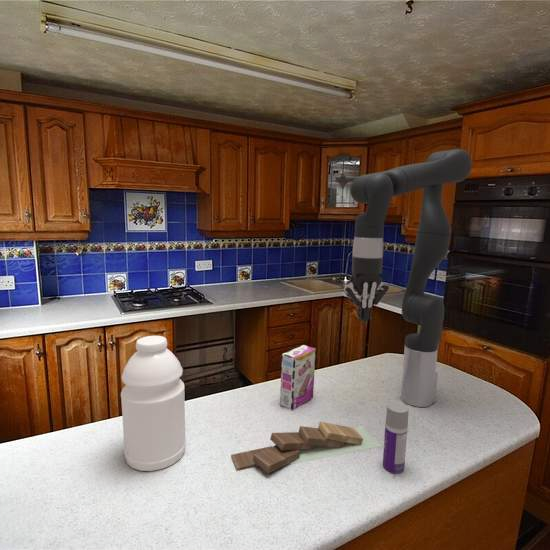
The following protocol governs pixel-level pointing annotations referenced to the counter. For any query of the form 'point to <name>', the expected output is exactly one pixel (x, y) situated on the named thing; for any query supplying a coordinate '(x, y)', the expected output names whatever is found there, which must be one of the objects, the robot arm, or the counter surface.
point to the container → (395, 438)
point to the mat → (331, 451)
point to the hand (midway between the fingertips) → (363, 320)
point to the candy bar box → (297, 377)
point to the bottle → (153, 406)
